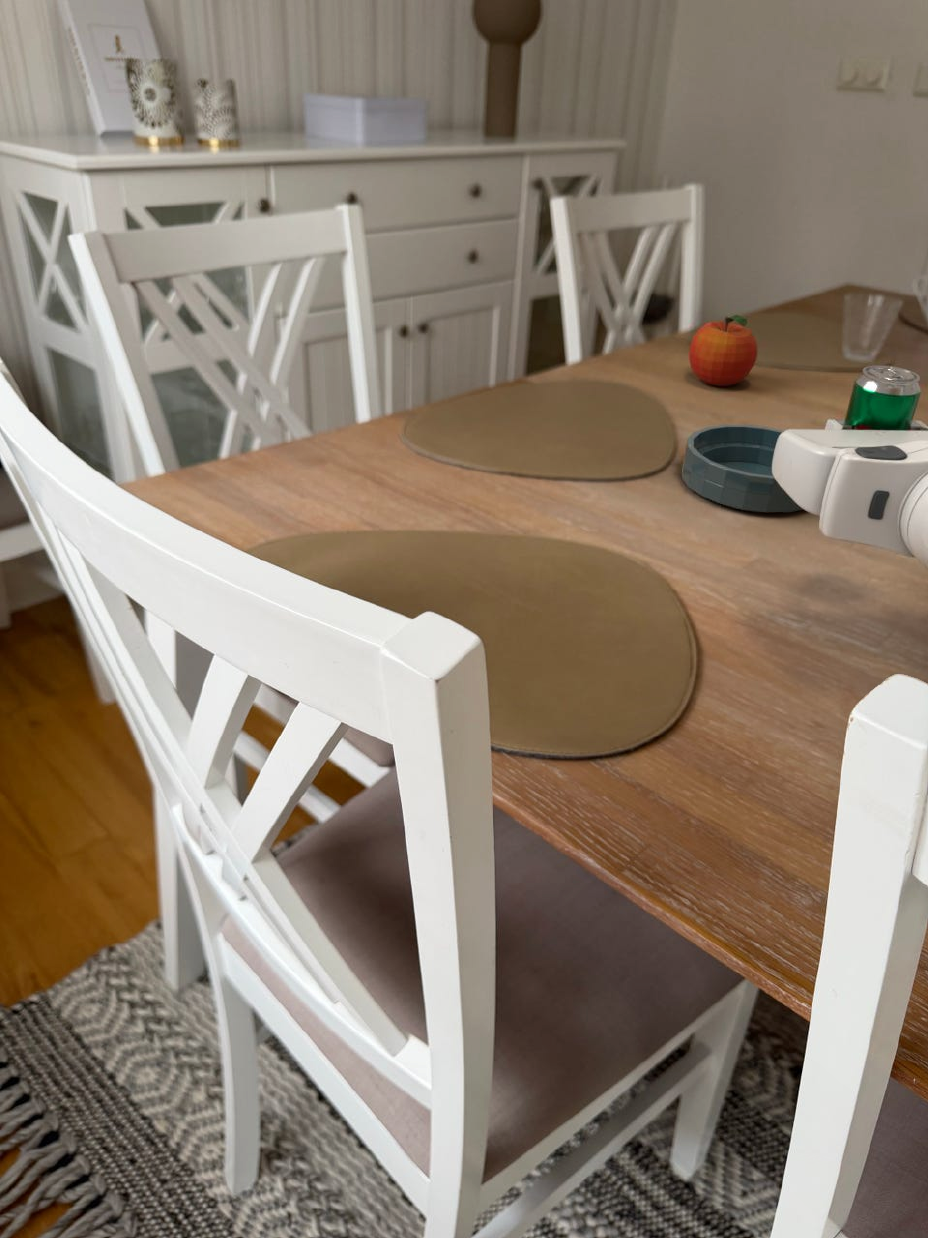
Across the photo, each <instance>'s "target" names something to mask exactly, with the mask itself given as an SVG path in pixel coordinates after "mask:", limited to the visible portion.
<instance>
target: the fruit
mask: <svg viewBox="0 0 928 1238" xmlns="http://www.w3.org/2000/svg"><path fill="white" fill-rule="evenodd" d="M734 321H736V323H732V322H734ZM737 323H738V324H737ZM747 324H748V318H746V317H745V316H744V315H739V314H734V315H731V316H728V315H725V317H724V321H710V322H707V323H705V324H704V325H703V326H701V327H700V328H699V329H698V330H697V332H696V333H695V335H694V336H693V338H692V340H691V343H690V346H689V350H688V352H689V353H688V361H689V364H690V368H691V370H692V372H693V374H694V375H695V377H697V378H698V379H699V380H700V381H702V382H703V383H705V384H707V385H711V386H717V387H729V386H733V385H735V384H738V383H740V382H742V381H743V380H744V379H745V378H746V377H748V375H749V374H750V373H751V371H752V369H753V368H754V366H755V364H756V360H757V358H758V344H757V339H756V337H755V336H754V334H753V332H752V331H751V330H750V329H749V328H748V327H746V326H747Z"/></svg>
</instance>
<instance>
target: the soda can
mask: <svg viewBox="0 0 928 1238" xmlns="http://www.w3.org/2000/svg"><path fill="white" fill-rule="evenodd" d="M919 382H920V375H919V374H917V373H915V372H914V371H911V370H909V369H906V368H902V367H898V366H893V365H892V366H891V365H879V364H878V365H869V366H865V367H864V368H863V369H862V373H861V374H860V375H859V377H857V378H856V379H855V381H854V382H853V386H852V389H851V394H850V398H849V401H848V406H847V409H846V413H845V417H844V420H846V421H847V422H848V423H850V424H851V425H853V427H852V430H907V431H909V430H910V427H911V424H912V420H914V417H915V414H916V410H917V407H918V403H919V400H920V396H921V393H922V390H921V387H920V384H919Z"/></svg>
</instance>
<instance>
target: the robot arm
mask: <svg viewBox="0 0 928 1238" xmlns="http://www.w3.org/2000/svg"><path fill="white" fill-rule="evenodd" d="M852 427H853V425H851V424H850V423H848V422H847V421H846V420H845V419H829V418H828V419H827V420H826V422H825V427H824V428H823V429H820V428H819V429H818V428H817V429H815V428H814V429H813V428H811V429H810V428H804V429H803V428H788V429H785V430H783V431H784V432H783V433H781V435H780V436H779V438H778V440H777V443H776V447H775V451H774V456H773V461H772V474H773V476H774V478H775V480H776V481H777V482H778V484H779V485H780V486H781V487H782V488H783V490H784V491H785V492H786V493H787V494H788V495H789V496H790V497H791V498H792V499H793V500H794V502H795V503H796V504H798V505H799V506H800V507H801V508H803V510H804V511H806V512H807V513H809V514H812V515H814V516H817V517H819V522H818V529H819V531H820V532H821V533H822V534H823V535H824V536H825V537H827V538H829V539H831V540H837V541H843V542H849V543H855V544H859V545H864V546H865V545H866V546H870V547H876V548H879V549H883V550H887V551H890V552H892V553H895V554H897V555H901V556H904V557H907V558H912V559H914V558H915V559H916V561H918V562H919V563H920V564H921V565H922V566H924V567H925V568H926V569H928V425H927V424H925V423H924V422H923V421H921V420H915V419H913V420H912V424H911V427H910V430H909V431H907V430H852Z"/></svg>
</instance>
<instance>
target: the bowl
mask: <svg viewBox="0 0 928 1238" xmlns="http://www.w3.org/2000/svg"><path fill="white" fill-rule="evenodd" d="M784 431H785V430H780V429H776V428H771V427H766V426H758V425H749V424H719V425H712V426H706V427H704V428H701V429H699V430H695V431H693V432H692V433H691V434H690V435H689V436H688V437H687V438H686V445H685V450H684V457H683V462H682V469H681V480H683V482H684V483H685V484H686V486H687V487H688V488H689V489H690V490H692V491H693V492H695V493H697V494H698V495H699V496H701V497H702V498H704V499H707V498H708V499H707V500H709V499H710V500H709V501H711V500H712V501H711V502H714V501H715V502H714V503H716V502H717V504H719V503H720V504H719V505H721V504H723V505H722V506H724V505H726V506H725V507H727V506H730V507H729V508H731V507H734V508H733V509H735V508H738V509H737V510H739V509H743V510H742V511H744V510H748V511H747V512H750V511H756V512H755V513H759V512H783V513H793V512H797V511H803V510H804V509H803V508H801V507H800V506H799V505H798V504H796V503H795V502H794V500H793V499H792V498H791V497H790V496H789V495H788V494H787V493H786V492H785V491H784V490H783V488H782V487H781V486H780V485H779V484H778V482H777V481H776V480H775V478H774V476H773V474H772V461H773V456H774V451H775V447H776V443H777V440H778V438H779V436H780V435H781V433H783V432H784Z"/></svg>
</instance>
